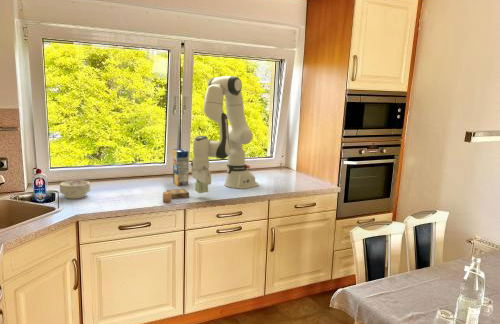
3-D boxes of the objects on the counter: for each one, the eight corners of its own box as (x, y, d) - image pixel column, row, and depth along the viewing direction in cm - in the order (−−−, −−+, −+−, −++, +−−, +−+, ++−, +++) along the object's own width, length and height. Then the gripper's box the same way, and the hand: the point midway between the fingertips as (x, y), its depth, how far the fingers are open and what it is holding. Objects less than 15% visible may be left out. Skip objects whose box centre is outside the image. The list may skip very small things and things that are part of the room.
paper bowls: (82, 191, 220) (81, 178, 219) (95, 196, 211) (95, 183, 209) (55, 196, 209) (54, 182, 207) (68, 202, 199) (67, 187, 198)
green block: (204, 189, 221) (204, 181, 220) (208, 191, 216) (207, 183, 215) (195, 190, 218) (195, 182, 217) (199, 193, 213) (198, 184, 212)
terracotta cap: (169, 200, 211) (169, 191, 210) (172, 202, 207) (172, 193, 206) (161, 200, 209) (161, 192, 208) (164, 203, 205) (164, 194, 204)
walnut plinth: (183, 192, 226) (183, 188, 226) (189, 197, 218) (189, 192, 217) (167, 194, 222) (167, 189, 221) (172, 198, 213) (172, 194, 213)
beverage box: (177, 186, 241) (178, 151, 236) (173, 182, 250) (173, 149, 246) (188, 185, 244) (188, 151, 239) (183, 181, 253) (183, 148, 249)
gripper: (214, 168, 207) (214, 192, 209) (199, 161, 224) (199, 183, 227) (203, 169, 203) (203, 193, 206) (189, 162, 221) (189, 184, 224)
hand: (201, 188), depth 217 cm, fingers closed on green block, 5 cm apart
